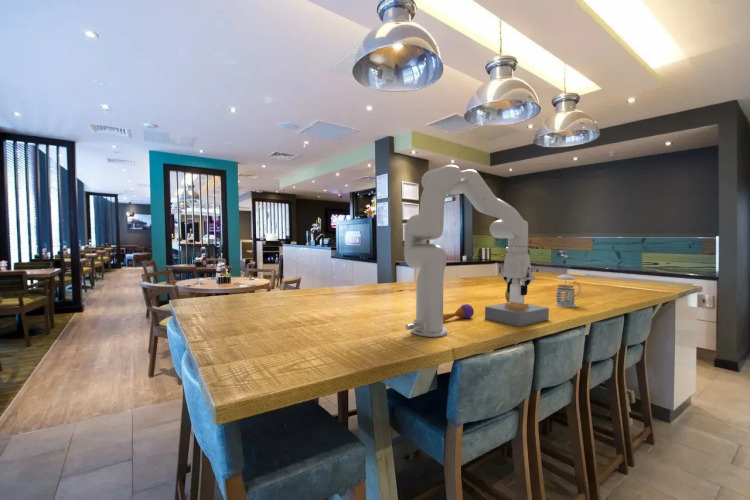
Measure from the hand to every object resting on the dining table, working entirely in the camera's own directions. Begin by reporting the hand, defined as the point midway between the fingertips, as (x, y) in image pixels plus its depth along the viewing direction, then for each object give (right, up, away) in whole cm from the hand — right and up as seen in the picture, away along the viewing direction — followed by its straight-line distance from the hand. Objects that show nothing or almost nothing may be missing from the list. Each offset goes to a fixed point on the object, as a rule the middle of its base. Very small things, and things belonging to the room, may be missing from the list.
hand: (516, 293), depth 142 cm
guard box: (0, -11, 0) cm, 11 cm away
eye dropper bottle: (0, -4, 0) cm, 4 cm away
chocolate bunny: (+8, -10, +21) cm, 25 cm away
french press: (+38, -10, +30) cm, 49 cm away
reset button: (0, -7, 0) cm, 7 cm away
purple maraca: (-26, -11, -1) cm, 28 cm away
